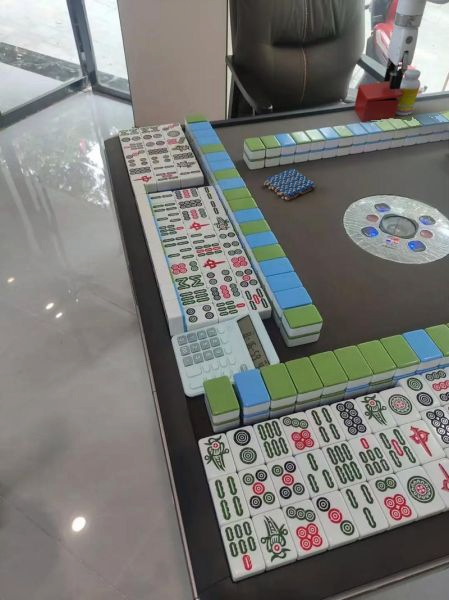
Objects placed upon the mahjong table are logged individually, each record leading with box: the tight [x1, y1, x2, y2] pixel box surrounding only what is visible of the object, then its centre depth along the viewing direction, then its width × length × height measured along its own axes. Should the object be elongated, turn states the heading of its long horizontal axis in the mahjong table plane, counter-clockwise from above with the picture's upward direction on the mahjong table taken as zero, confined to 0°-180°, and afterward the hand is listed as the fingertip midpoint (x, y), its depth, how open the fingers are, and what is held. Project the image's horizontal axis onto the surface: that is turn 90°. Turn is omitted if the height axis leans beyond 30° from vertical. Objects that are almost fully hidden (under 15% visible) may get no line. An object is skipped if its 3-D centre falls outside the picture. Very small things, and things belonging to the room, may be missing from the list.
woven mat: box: [263, 168, 317, 201], centre depth 117 cm, size 10×11×2 cm
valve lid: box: [358, 70, 403, 101], centre depth 138 cm, size 11×10×5 cm
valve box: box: [353, 87, 399, 123], centre depth 143 cm, size 10×10×7 cm
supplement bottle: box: [395, 68, 422, 116], centre depth 141 cm, size 7×7×13 cm
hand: (391, 84), depth 138 cm, fingers closed on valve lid, 5 cm apart
